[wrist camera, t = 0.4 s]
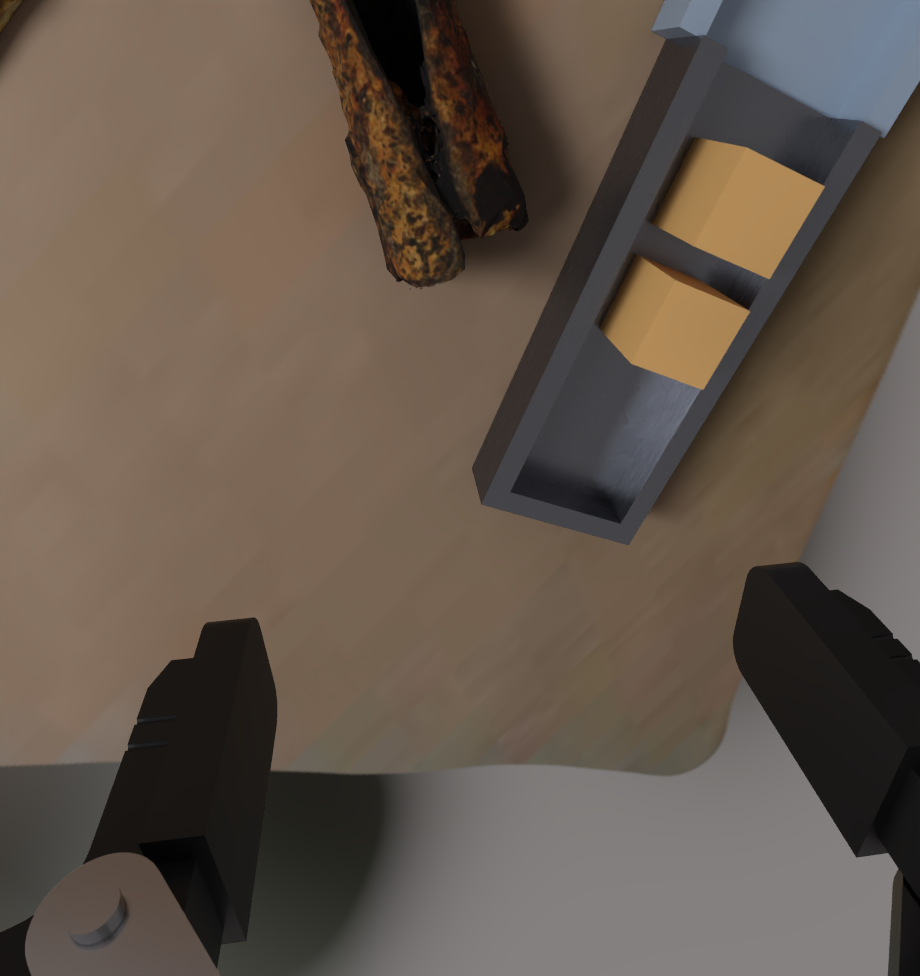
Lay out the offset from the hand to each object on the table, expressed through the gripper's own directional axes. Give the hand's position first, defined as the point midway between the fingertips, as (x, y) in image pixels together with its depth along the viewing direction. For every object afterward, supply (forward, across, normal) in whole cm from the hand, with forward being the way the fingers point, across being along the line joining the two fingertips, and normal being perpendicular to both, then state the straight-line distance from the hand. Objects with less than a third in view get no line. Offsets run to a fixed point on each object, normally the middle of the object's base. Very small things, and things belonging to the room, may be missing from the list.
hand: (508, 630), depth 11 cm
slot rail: (+27, -12, +4) cm, 29 cm away
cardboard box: (+25, -14, -2) cm, 29 cm away
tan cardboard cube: (+25, -12, +3) cm, 28 cm away
